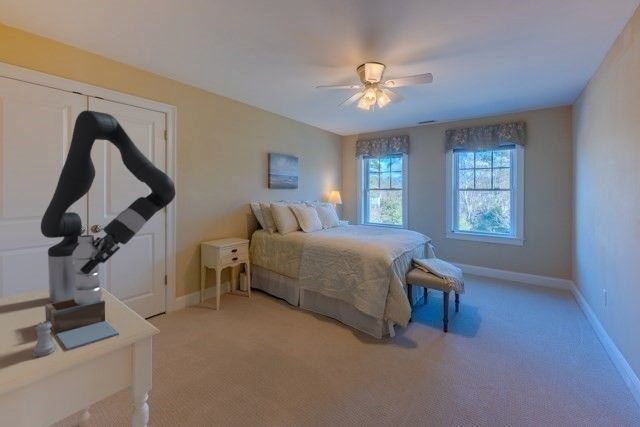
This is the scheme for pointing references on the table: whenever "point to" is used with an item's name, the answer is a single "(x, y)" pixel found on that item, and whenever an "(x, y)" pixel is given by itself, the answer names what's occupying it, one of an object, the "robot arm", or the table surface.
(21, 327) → the table surface
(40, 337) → the rook chess piece
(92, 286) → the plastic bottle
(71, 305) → the holder
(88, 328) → the mat
